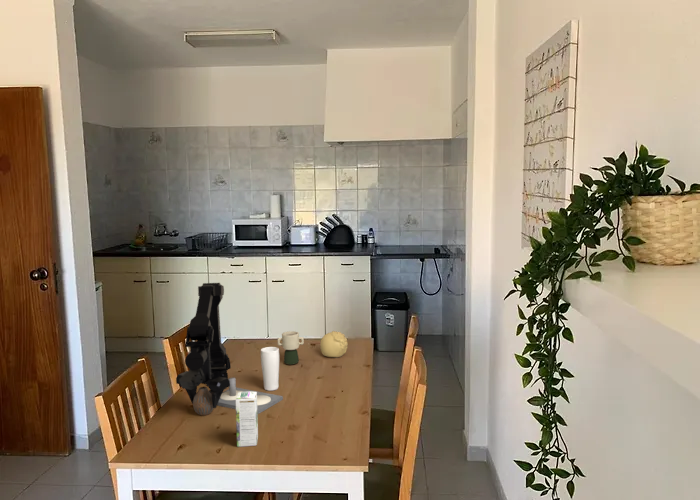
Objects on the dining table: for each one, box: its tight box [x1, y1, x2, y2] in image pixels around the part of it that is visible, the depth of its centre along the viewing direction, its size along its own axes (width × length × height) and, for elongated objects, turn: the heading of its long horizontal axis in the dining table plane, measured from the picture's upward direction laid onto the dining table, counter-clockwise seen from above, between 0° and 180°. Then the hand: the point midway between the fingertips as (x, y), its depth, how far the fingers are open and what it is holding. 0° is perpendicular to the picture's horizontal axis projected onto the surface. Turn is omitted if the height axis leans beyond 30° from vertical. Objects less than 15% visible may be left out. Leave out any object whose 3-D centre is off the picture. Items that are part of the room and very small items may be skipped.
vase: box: [192, 386, 214, 416], centre depth 190 cm, size 7×7×9 cm
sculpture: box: [319, 330, 349, 358], centre depth 250 cm, size 12×12×11 cm
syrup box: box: [235, 391, 259, 448], centre depth 167 cm, size 6×6×14 cm
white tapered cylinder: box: [260, 346, 280, 392], centre depth 211 cm, size 7×7×15 cm
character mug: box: [277, 330, 305, 365], centre depth 240 cm, size 11×7×13 cm, turn 95°
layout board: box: [217, 377, 284, 415], centre depth 200 cm, size 22×14×7 cm, turn 62°
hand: (204, 405), depth 190 cm, fingers open, 9 cm apart
